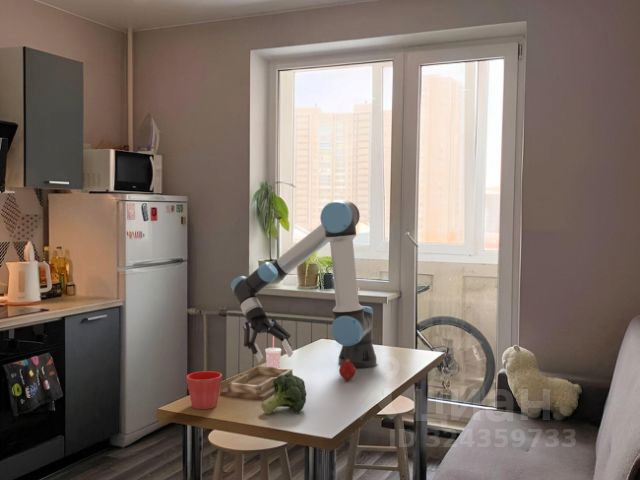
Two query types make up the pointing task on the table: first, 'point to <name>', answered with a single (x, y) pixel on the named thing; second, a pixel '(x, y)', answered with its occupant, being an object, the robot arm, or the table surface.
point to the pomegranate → (347, 370)
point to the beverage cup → (273, 356)
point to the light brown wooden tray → (255, 383)
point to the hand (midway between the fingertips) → (276, 357)
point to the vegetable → (286, 394)
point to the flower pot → (204, 389)
